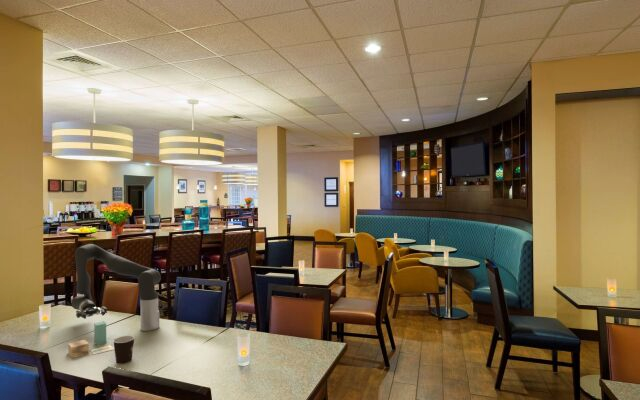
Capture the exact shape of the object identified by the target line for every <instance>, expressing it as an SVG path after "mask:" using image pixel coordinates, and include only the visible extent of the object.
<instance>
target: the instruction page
mask: <svg viewBox="0 0 640 400" xmlns="http://www.w3.org/2000/svg"><path fill="white" fill-rule="evenodd" d="M109 351H115V350H114V346H112V345H111V344H109V345H105V346H100V347H97V348H92V349H90V352H91V354H92V355H96V354H102V353H105V352H109Z"/></svg>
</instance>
